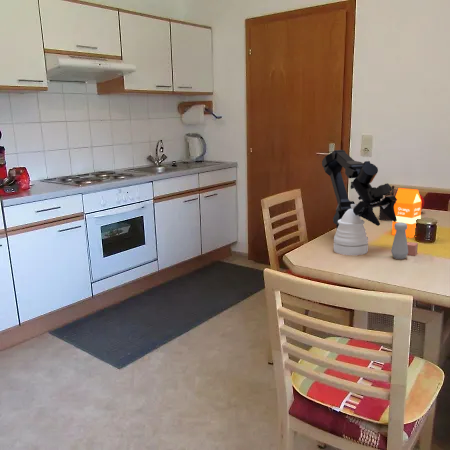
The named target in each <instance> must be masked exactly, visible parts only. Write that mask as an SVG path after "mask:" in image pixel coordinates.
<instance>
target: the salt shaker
mask: <svg viewBox="0 0 450 450" xmlns="http://www.w3.org/2000/svg"><path fill="white" fill-rule="evenodd" d="M394 228H395V229H396V233H395V235H394V238H393V242H392V246H391V249H390V250H391V251H390V253H391V254H392V256H393V259H396V260H404V259H406V258H407V256H408V255H407V254H408V246H407V242H408V240H407V237H406V232H405V230H406V229H407V224H406V223H402V222H398V223H396V224H395V225H394Z"/></svg>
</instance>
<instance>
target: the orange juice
mask: <svg viewBox="0 0 450 450" xmlns="http://www.w3.org/2000/svg"><path fill="white" fill-rule="evenodd" d="M419 194H420V192H419V189H413V188H403V187H398V189H397V192H396V194H395V197H396V199H397V201H396V203H395V204H394V211H395V215H396V219H397V221H396V222H394V221H392V226H391V227H392V230H391V235H392V236H395V233H396V229H395V228H394V225H395V224H396V223H398V222H402V223H406V224H407V229H406V230H405V232H406V238H408V237H409V238H408V239H412V238H415V237H414V235H415V228H416V220H417V219H422V210H421V203H422V201H421V198H420V195H421V194H420V195H419Z"/></svg>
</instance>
